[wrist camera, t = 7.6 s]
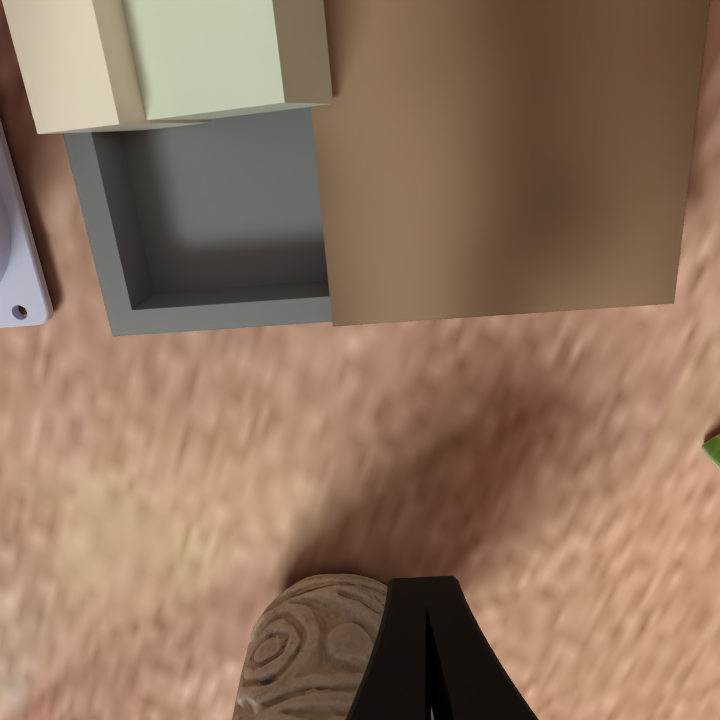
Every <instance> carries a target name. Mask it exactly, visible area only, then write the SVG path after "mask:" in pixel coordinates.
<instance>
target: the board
mask: <svg viewBox="0 0 720 720" xmlns="http://www.w3.org/2000/svg"><path fill="white" fill-rule="evenodd" d="M323 2H324V12H325V23H326V33H327V44H328V54H329V64H330V75H331V85H332V95H333V104H328V105H320V106H312V107H311V114H312V124H313V134H314V144H315V154H316V164H317V174H318V184H319V194H320V204H321V214H322V224H323V234H324V244H325V254H326V264H327V274H328V284H329V294H330V304H331V314H332V324H333V326H347V325H362V324H377V323H391V322H406V321H421V320H436V319H451V318H465V317H480V316H495V315H510V314H525V313H540V312H554V311H569V310H584V309H599V308H614V307H629V306H643V305H658V304H673V303H674V299H675V290H676V282H677V274H678V265H679V257H680V249H681V240H682V232H683V223H684V215H685V207H686V198H687V190H688V182H689V173H690V165H691V156H692V148H693V140H694V131H695V123H696V115H697V106H698V98H699V89H700V81H701V73H702V64H703V56H704V48H705V39H706V31H707V22H708V14H709V6H710V0H323Z"/></svg>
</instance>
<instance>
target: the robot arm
mask: <svg viewBox="0 0 720 720" xmlns="http://www.w3.org/2000/svg"><path fill="white" fill-rule="evenodd" d="M19 305H20V306H22V307H24V308H25V309H26V311H27V316H24V315H22V314H21V313H20V311H19ZM52 315H53V307H52V303H51V299H50V296H49V292H48V289H47V285H46V281H45V278H44V274H43V271H42V267H41V264H40V260H39V256H38V253H37V249H36V246H35V242H34V238H33V235H32V231H31V228H30V224H29V220H28V217H27V213H26V210H25V206H24V202H23V199H22V195H21V192H20V188H19V184H18V181H17V177H16V174H15V170H14V167H13V163H12V159H11V156H10V152H9V149H8V145H7V141H6V138H5V134H4V131H3V127H2V123H1V120H0V328H2V327H17V326H31V325H40V324H43V323H45V322H47V321H48V320H50V319H51V318H52ZM431 707H432V712H433V718H434V720H539V719H538V718H537V717H536V715H535V714H534V713H533V711H532V710H531V708H530V707H529V706H528V704H527V703H526V701H525V700H524V698H523V697H522V695H521V694H520V692H519V691H518V690H517V688H516V687H515V685H514V684H513V682H512V681H511V679H510V678H509V676H508V674H507V673H506V671H505V670H504V668H503V667H502V665H501V663H500V662H499V660H498V658H497V657H496V655H495V653H494V652H493V650H492V648H491V647H490V645H489V643H488V642H487V640H486V638H485V636H484V635H483V633H482V631H481V629H480V627H479V625H478V623H477V621H476V620H475V618H474V616H473V614H472V612H471V610H470V608H469V606H468V603H467V601H466V599H465V597H464V594H463V592H462V589H461V587H460V584H459V581H458V580H457V579H456V578H455V577H454V576H438V577H416V578H395V579H392V580H391V581H390V582H389V583H388V585H387V596H386V602H385V607H384V612H383V616H382V620H381V624H380V627H379V631H378V635H377V638H376V641H375V644H374V647H373V650H372V653H371V656H370V659H369V662H368V665H367V668H366V670H365V673H364V676H363V678H362V681H361V683H360V686H359V688H358V691H357V693H356V696H355V698H354V700H353V703H352V705H351V708H350V710H349V712H348V715H347V717H346V719H345V720H431Z"/></svg>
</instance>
